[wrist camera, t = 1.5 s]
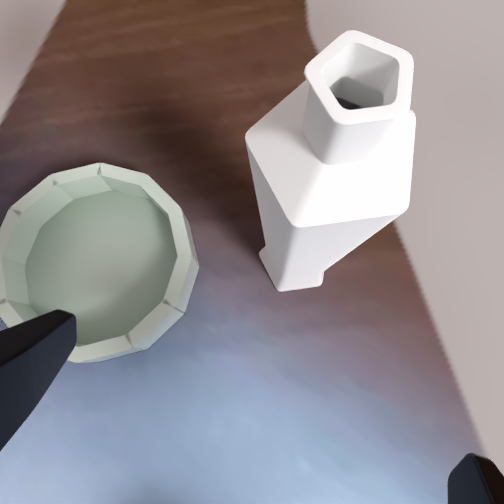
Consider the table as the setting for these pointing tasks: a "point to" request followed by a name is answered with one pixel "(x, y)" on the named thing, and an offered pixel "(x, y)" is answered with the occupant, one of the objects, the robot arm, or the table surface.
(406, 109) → the white faceted vase
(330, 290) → the table surface
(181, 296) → the ring dish
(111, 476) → the table surface
